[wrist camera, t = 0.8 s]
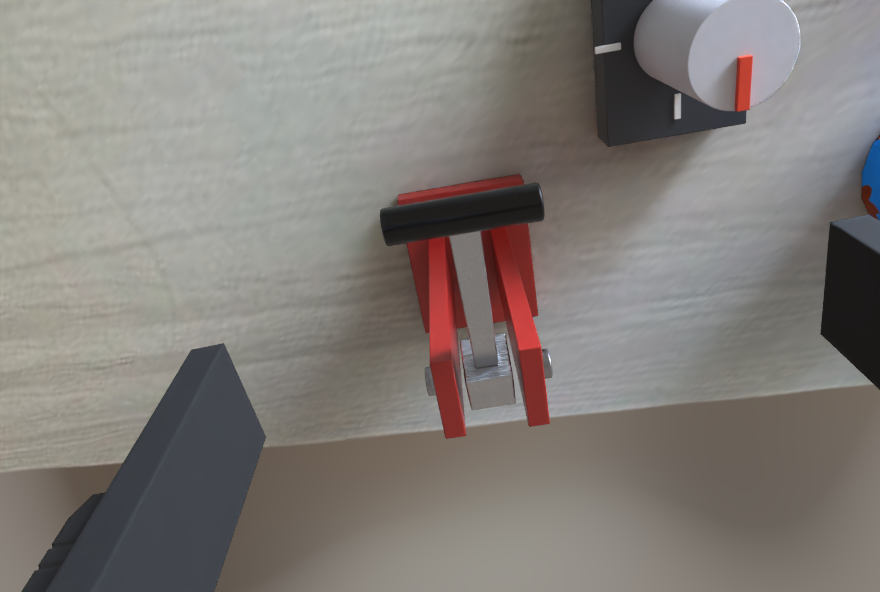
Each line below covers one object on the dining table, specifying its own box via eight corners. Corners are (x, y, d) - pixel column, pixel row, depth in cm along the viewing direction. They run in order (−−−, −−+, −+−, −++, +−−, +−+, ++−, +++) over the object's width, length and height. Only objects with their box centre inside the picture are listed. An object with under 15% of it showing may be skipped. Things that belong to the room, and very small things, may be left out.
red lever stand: (398, 194, 41) (383, 315, 27) (520, 173, 40) (571, 285, 26) (425, 325, 45) (424, 486, 31) (535, 307, 45) (585, 464, 31)
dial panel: (578, -62, 34) (589, -64, 32) (746, -95, 33) (770, -99, 31) (589, 138, 39) (600, 149, 37) (736, 113, 39) (755, 122, 36)
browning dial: (632, -5, 33) (691, 4, 26) (724, -22, 33) (810, -18, 25) (634, 88, 35) (688, 121, 28) (720, 73, 35) (798, 102, 28)
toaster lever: (378, 190, 22) (380, 240, 20) (534, 163, 22) (547, 213, 20) (434, 373, 32) (438, 415, 31) (540, 357, 32) (549, 399, 31)
